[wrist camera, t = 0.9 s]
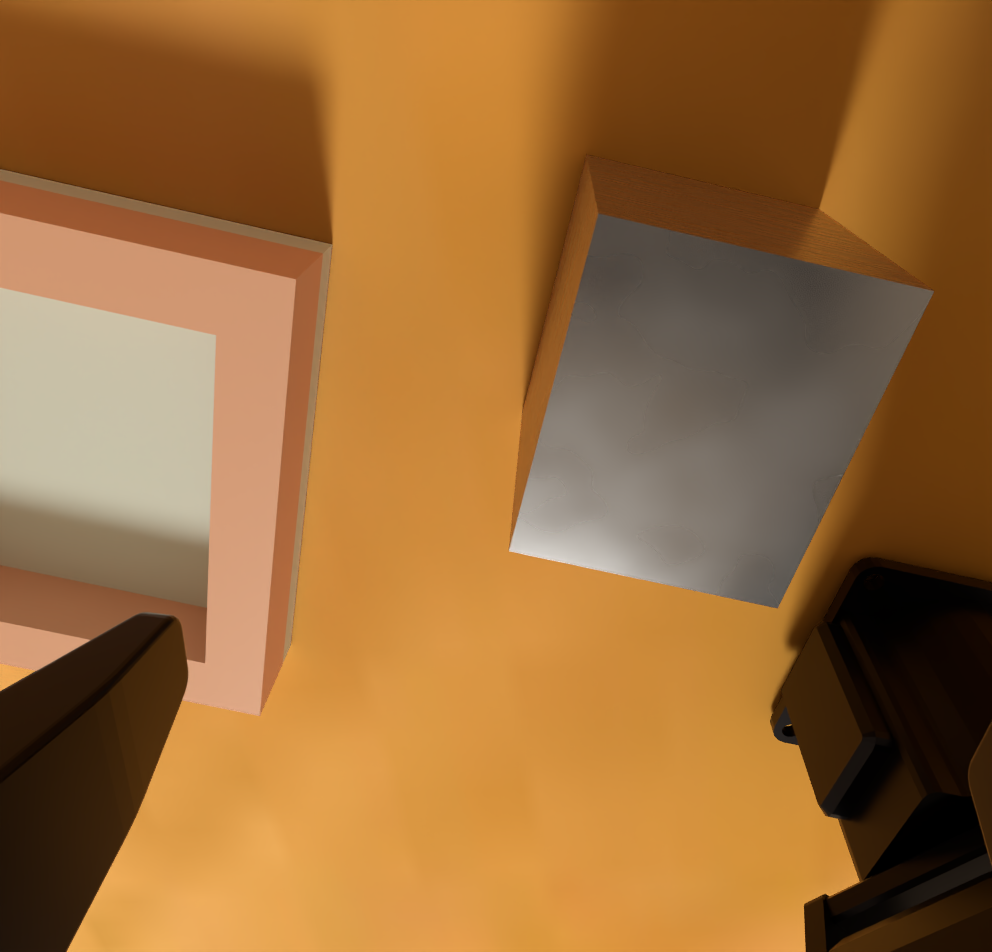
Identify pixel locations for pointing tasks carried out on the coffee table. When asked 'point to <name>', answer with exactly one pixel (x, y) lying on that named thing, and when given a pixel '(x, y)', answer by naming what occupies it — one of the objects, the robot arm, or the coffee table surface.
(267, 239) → the square tray
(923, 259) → the coffee table surface
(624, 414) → the grey metal box
